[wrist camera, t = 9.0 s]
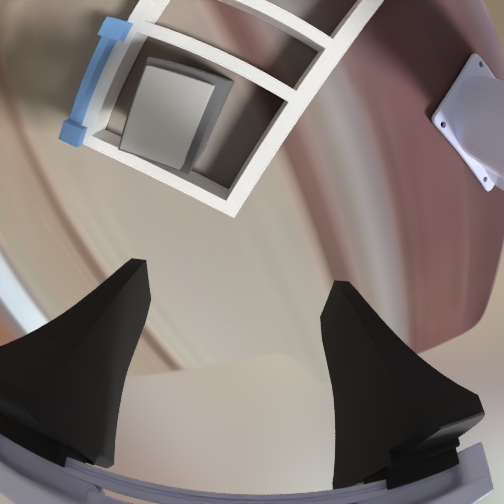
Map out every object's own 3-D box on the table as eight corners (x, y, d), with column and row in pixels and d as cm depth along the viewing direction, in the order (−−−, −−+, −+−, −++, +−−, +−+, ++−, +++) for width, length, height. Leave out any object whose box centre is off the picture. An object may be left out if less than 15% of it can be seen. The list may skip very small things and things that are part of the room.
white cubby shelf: (392, -20, 10) (416, -33, 7) (235, 205, 20) (232, 230, 17) (230, -98, 7) (225, -121, 4) (85, 131, 17) (57, 144, 14)
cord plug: (234, 81, 15) (225, 80, 10) (204, 149, 18) (184, 180, 13) (176, 61, 14) (142, 55, 9) (150, 130, 17) (111, 153, 12)
